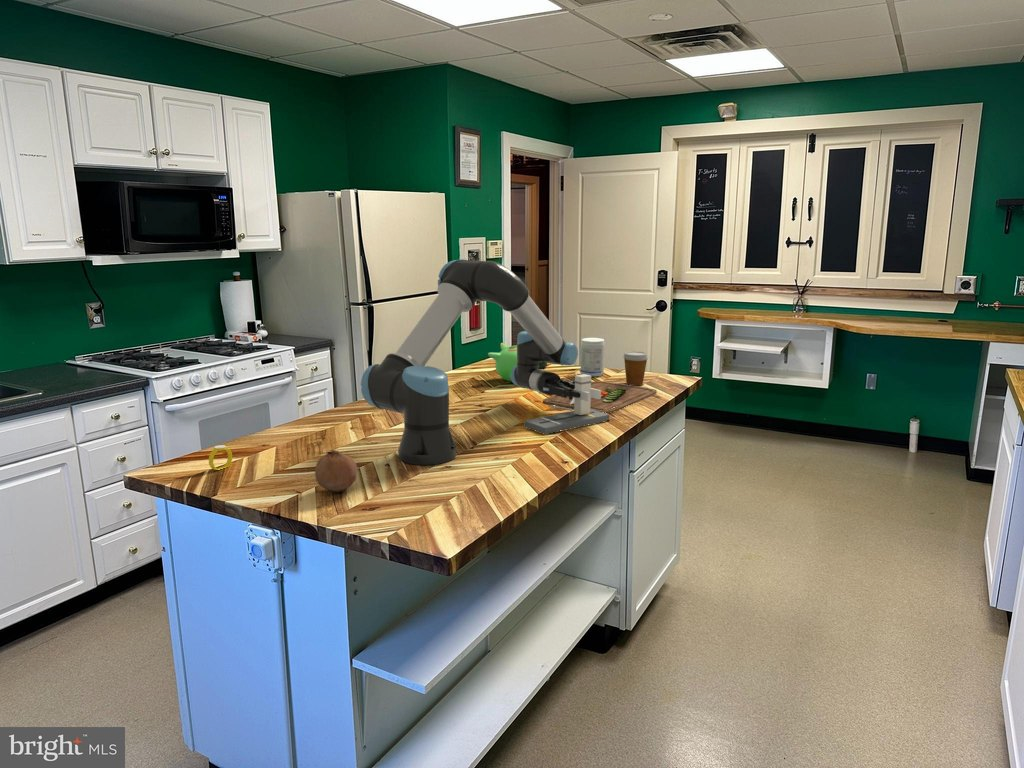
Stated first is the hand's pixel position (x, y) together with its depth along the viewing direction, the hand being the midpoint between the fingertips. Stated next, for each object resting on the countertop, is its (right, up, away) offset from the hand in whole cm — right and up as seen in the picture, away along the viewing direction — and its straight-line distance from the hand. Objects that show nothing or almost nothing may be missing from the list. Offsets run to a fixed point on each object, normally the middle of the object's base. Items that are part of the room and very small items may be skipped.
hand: (594, 396), depth 217 cm
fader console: (-8, -9, +3) cm, 12 cm away
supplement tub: (+8, +7, +75) cm, 76 cm away
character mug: (-13, +11, +89) cm, 91 cm away
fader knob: (-3, -5, +6) cm, 8 cm away
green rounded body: (-24, +5, +63) cm, 68 cm away
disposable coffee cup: (+22, +4, +59) cm, 63 cm away
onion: (-65, -21, -54) cm, 87 cm away
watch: (-98, -18, -39) cm, 107 cm away
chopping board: (+7, -2, +37) cm, 38 cm away
